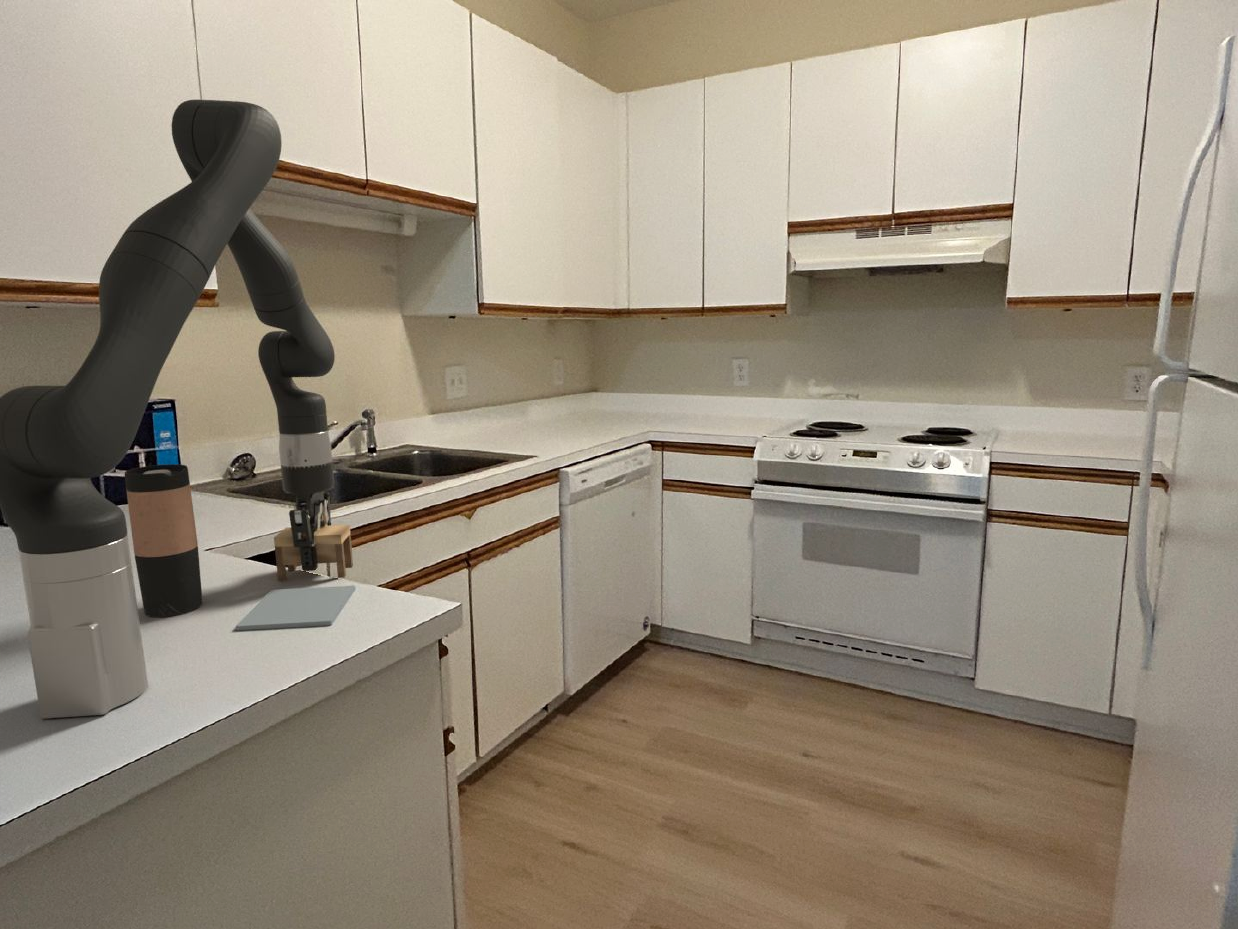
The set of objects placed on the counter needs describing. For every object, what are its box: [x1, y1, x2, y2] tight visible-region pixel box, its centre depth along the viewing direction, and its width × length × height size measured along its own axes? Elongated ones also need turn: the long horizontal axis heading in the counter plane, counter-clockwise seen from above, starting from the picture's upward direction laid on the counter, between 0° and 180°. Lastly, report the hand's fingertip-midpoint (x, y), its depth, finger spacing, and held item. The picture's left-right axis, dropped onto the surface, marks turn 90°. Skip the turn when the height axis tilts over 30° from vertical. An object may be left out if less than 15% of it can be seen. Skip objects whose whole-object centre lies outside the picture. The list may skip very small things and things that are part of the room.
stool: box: [273, 524, 354, 582], centre depth 121 cm, size 10×6×7 cm, turn 97°
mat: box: [235, 585, 356, 632], centre depth 106 cm, size 14×12×1 cm
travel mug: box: [124, 463, 203, 618], centre depth 106 cm, size 8×8×20 cm
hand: (315, 563), depth 122 cm, fingers closed on stool, 6 cm apart
